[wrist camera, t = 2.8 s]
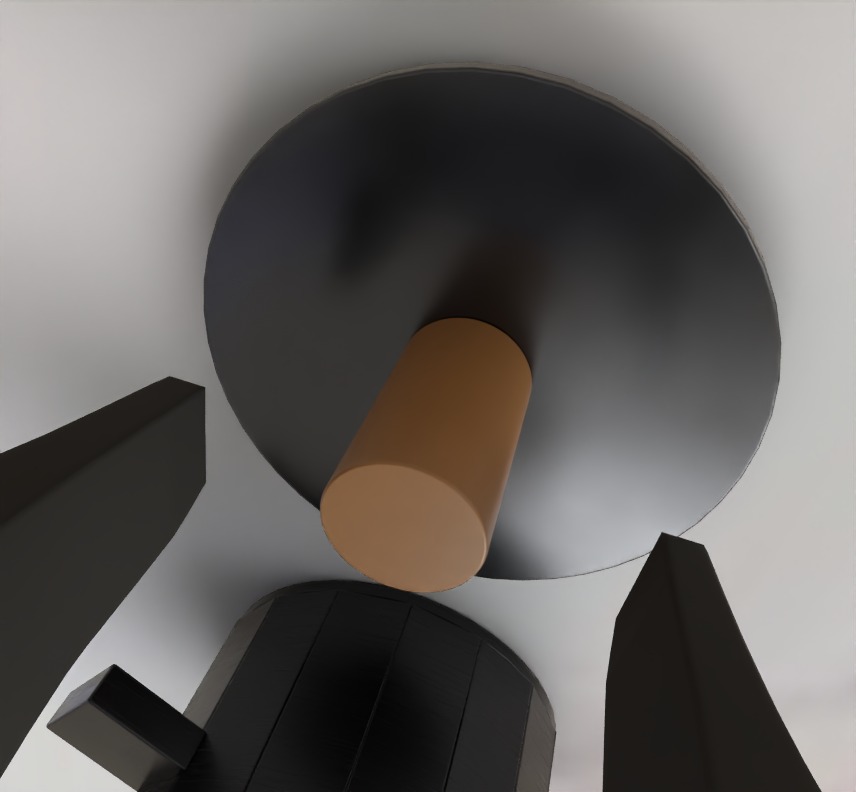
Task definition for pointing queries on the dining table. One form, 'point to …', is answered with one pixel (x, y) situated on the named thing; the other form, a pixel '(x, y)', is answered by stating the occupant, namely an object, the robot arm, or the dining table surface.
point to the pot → (330, 705)
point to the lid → (491, 325)
